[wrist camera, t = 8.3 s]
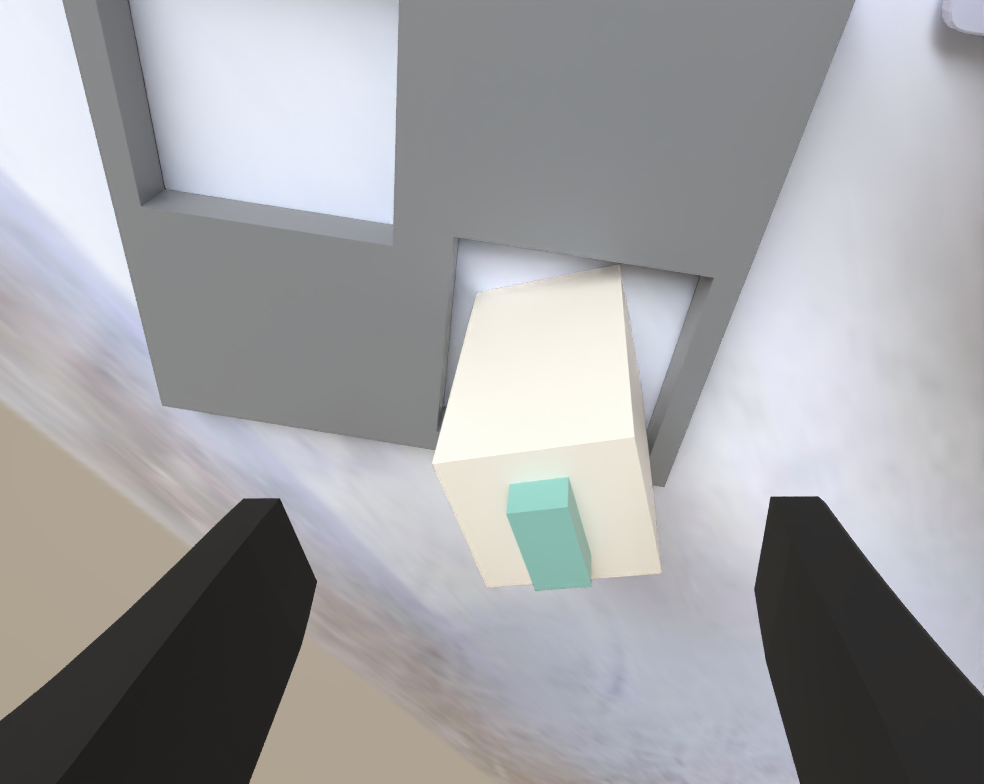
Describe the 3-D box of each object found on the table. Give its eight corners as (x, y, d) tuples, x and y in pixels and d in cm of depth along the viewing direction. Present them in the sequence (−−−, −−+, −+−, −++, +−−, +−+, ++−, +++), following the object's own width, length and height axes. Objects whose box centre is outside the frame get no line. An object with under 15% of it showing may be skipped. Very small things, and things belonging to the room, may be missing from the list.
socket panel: (850, -48, 13) (871, -42, 12) (660, 460, 22) (664, 487, 21) (60, -164, 14) (21, -167, 13) (180, 383, 22) (162, 405, 21)
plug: (619, 264, 18) (637, 467, 12) (641, 382, 20) (665, 604, 14) (476, 292, 19) (424, 493, 13) (512, 402, 21) (483, 617, 15)
